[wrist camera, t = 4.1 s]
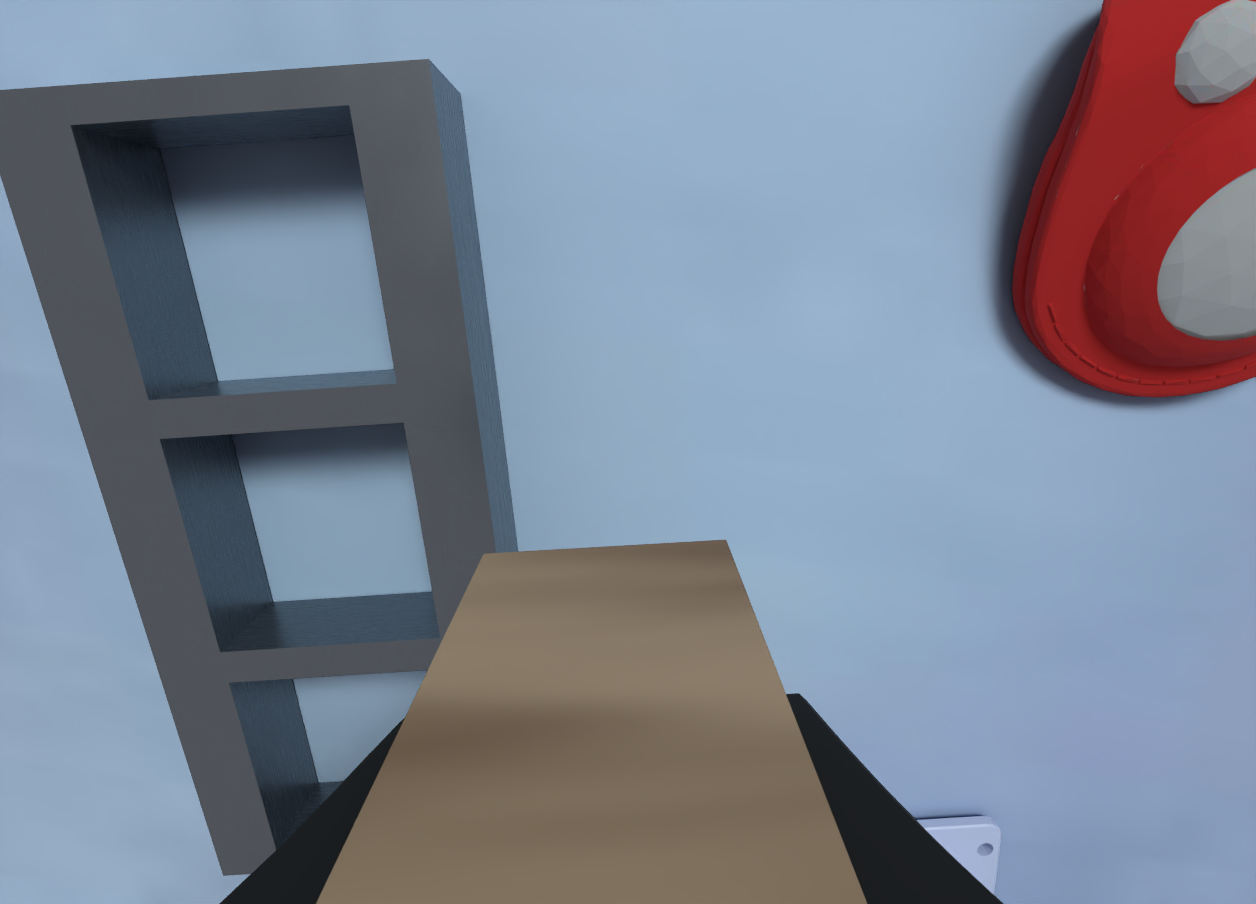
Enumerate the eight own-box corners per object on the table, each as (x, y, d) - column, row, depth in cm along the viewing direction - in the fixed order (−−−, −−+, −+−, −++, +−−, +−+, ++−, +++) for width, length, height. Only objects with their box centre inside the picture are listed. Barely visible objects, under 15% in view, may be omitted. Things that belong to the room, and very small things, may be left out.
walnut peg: (728, 741, 11) (949, 1700, 4) (510, 753, 11) (288, 1731, 4) (725, 539, 10) (1029, 1323, 3) (483, 553, 10) (91, 1373, 3)
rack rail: (547, 786, 20) (537, 856, 18) (270, 804, 20) (223, 875, 18) (460, 93, 15) (429, 58, 12) (79, 121, 15) (-27, 92, 12)
